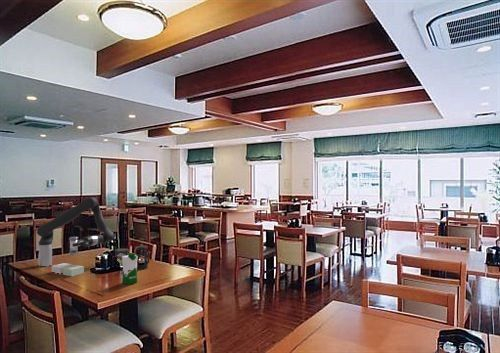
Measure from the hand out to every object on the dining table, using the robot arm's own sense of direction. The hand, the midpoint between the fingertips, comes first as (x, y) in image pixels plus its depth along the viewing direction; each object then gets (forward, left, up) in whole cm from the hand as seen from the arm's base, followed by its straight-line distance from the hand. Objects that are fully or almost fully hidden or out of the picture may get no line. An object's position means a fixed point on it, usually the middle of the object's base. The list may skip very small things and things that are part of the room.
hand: (70, 244), depth 259 cm
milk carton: (+54, +5, -22) cm, 59 cm away
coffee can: (+17, +32, -22) cm, 43 cm away
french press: (+33, +38, -22) cm, 55 cm away
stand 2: (0, +2, -22) cm, 22 cm away
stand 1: (-13, +2, -22) cm, 26 cm away
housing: (0, +3, -7) cm, 7 cm away
